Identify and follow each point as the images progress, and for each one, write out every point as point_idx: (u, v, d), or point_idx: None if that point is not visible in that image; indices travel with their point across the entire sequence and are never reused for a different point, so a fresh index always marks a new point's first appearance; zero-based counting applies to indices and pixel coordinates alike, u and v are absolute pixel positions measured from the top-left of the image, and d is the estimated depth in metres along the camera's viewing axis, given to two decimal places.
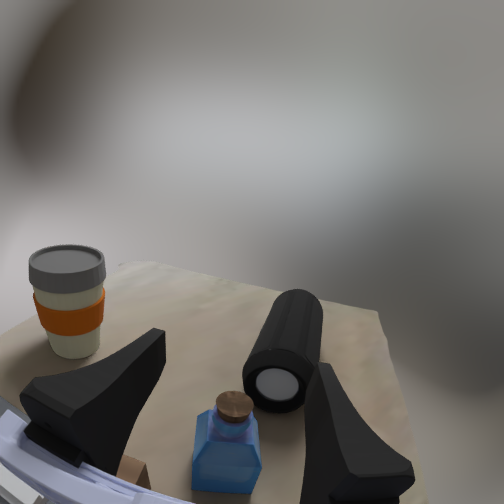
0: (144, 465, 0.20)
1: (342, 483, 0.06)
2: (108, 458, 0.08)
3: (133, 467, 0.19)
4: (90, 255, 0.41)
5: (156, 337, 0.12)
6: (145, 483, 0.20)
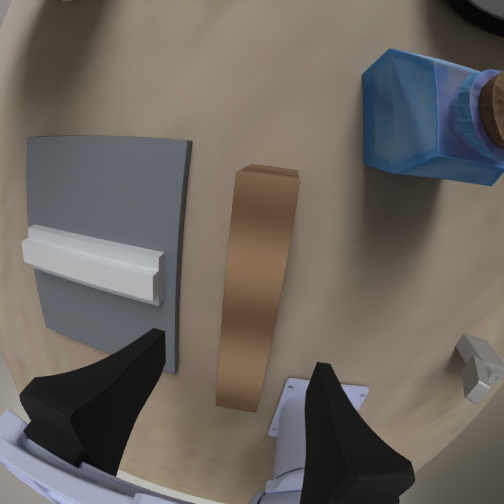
0: (298, 185, 0.14)
1: (342, 483, 0.06)
2: (108, 458, 0.08)
3: (279, 199, 0.14)
4: None
5: (156, 337, 0.12)
6: None
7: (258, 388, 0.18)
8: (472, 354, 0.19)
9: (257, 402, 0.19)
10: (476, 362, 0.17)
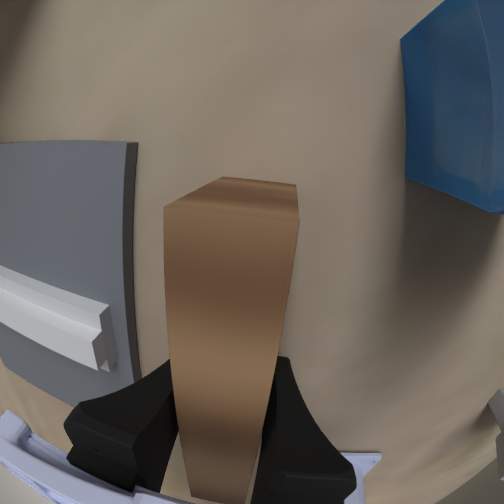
0: None
1: (273, 479, 0.06)
2: (156, 476, 0.08)
3: (256, 261, 0.07)
4: None
5: None
6: None
7: (243, 491, 0.11)
8: None
9: (243, 500, 0.12)
10: None
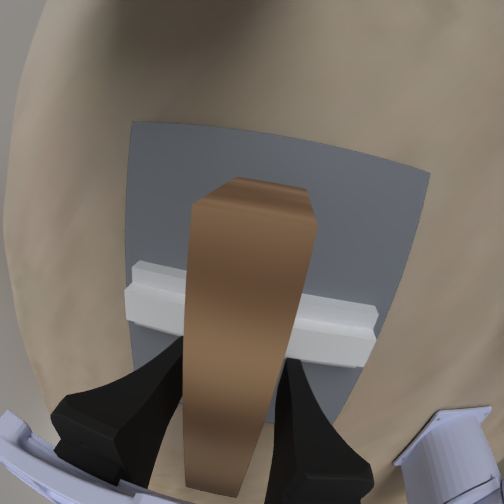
0: (313, 234, 0.07)
1: (293, 481, 0.06)
2: (142, 472, 0.08)
3: (276, 259, 0.07)
4: None
5: None
6: None
7: (238, 482, 0.12)
8: None
9: (237, 491, 0.12)
10: None
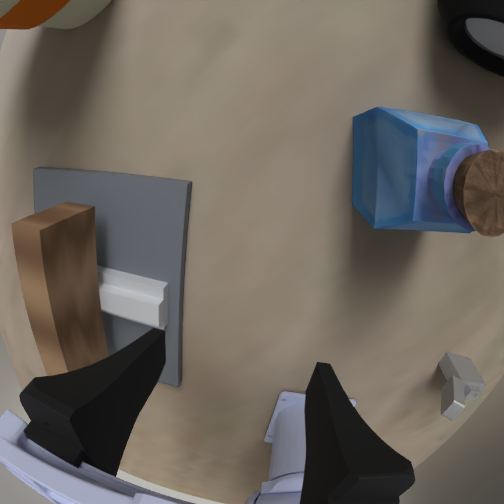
0: (41, 233, 0.14)
1: (342, 484, 0.06)
2: (108, 458, 0.08)
3: (32, 244, 0.14)
4: None
5: (156, 337, 0.12)
6: (70, 230, 0.17)
7: None
8: (453, 373, 0.21)
9: None
10: (454, 382, 0.19)
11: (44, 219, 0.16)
